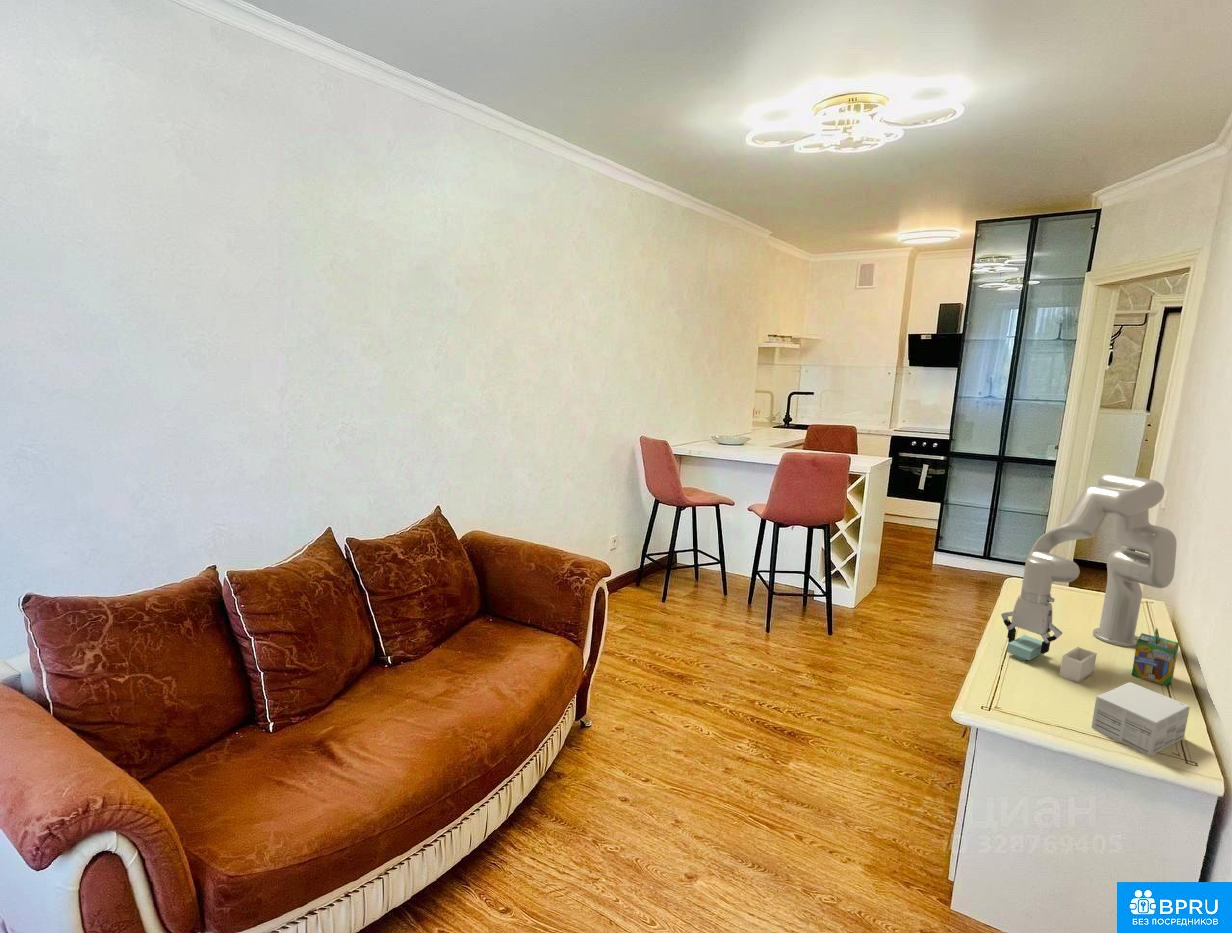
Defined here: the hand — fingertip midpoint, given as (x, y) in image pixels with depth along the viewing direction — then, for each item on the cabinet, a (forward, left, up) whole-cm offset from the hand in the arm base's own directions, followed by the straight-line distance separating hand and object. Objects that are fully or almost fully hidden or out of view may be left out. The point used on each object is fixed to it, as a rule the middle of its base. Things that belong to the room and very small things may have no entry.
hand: (1027, 646), depth 198 cm
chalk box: (-19, +27, -3) cm, 33 cm away
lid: (0, 0, -2) cm, 2 cm away
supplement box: (+22, +35, -3) cm, 41 cm away
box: (0, +14, -3) cm, 14 cm away
